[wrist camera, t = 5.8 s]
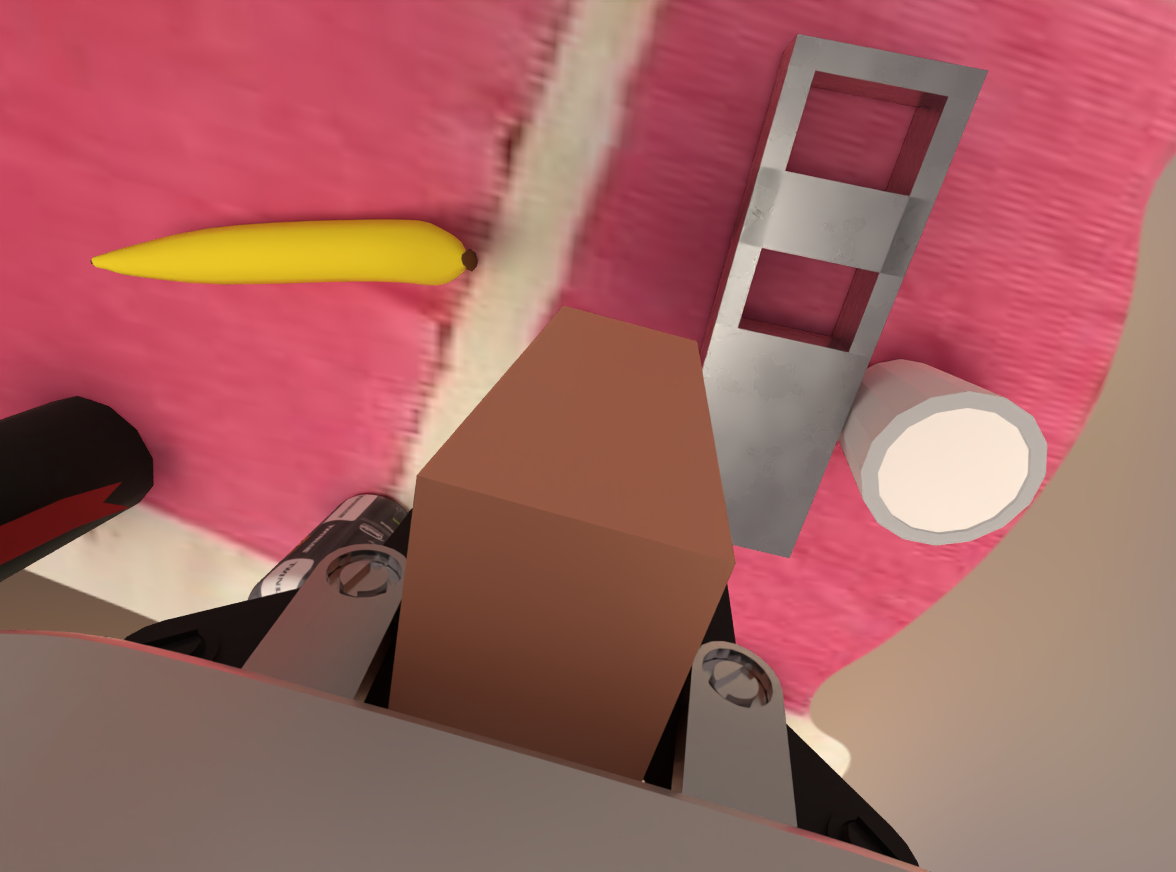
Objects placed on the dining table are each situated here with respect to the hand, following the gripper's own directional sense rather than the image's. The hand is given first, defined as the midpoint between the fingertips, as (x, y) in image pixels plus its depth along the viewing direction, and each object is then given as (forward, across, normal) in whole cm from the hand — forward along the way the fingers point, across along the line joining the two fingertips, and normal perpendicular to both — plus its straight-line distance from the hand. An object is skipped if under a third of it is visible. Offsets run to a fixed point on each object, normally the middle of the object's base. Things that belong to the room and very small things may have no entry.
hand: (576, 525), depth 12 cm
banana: (+19, +16, 0) cm, 25 cm away
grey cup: (+19, -14, +1) cm, 24 cm away
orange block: (+2, 0, 0) cm, 2 cm away
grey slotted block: (+19, -7, -2) cm, 20 cm away
